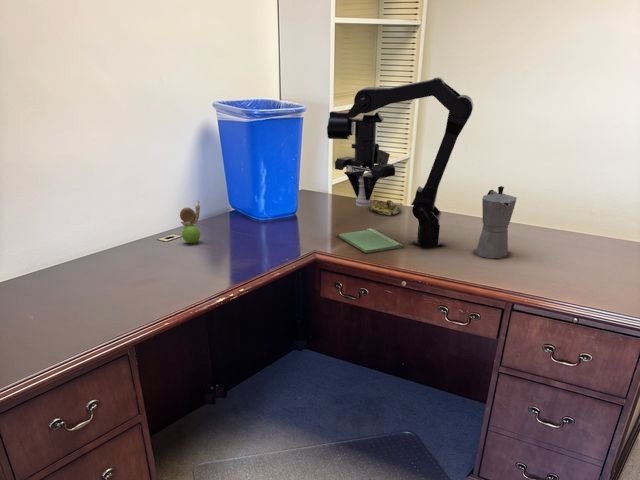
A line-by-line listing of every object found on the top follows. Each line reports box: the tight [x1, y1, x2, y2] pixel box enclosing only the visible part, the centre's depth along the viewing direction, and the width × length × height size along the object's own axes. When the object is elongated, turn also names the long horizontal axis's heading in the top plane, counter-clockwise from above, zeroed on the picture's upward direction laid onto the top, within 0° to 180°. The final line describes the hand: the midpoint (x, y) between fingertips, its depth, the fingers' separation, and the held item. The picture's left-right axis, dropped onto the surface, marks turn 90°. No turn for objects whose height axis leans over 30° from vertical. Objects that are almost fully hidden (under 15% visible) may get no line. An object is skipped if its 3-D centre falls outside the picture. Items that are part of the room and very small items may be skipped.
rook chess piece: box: [355, 175, 372, 208], centre depth 173 cm, size 4×4×8 cm
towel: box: [338, 227, 403, 254], centre depth 179 cm, size 18×12×1 cm, turn 24°
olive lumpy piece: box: [370, 199, 400, 216], centre depth 208 cm, size 9×5×15 cm
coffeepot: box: [475, 185, 518, 259], centre depth 164 cm, size 15×9×18 cm, turn 4°
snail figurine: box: [179, 200, 201, 244], centre depth 177 cm, size 5×6×12 cm
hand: (363, 198), depth 174 cm, fingers closed on rook chess piece, 3 cm apart
